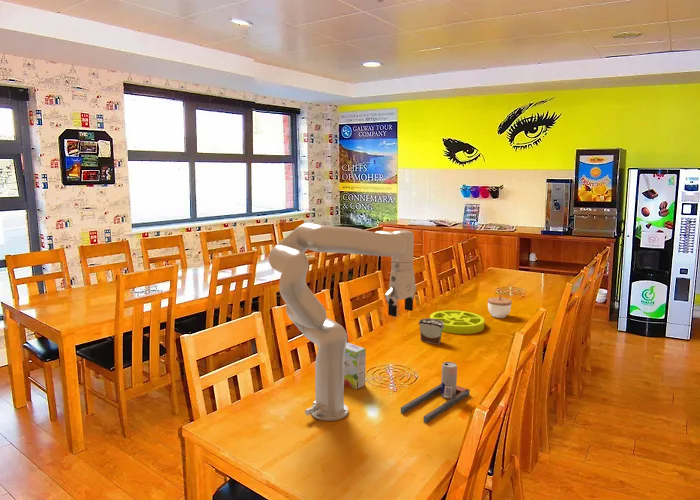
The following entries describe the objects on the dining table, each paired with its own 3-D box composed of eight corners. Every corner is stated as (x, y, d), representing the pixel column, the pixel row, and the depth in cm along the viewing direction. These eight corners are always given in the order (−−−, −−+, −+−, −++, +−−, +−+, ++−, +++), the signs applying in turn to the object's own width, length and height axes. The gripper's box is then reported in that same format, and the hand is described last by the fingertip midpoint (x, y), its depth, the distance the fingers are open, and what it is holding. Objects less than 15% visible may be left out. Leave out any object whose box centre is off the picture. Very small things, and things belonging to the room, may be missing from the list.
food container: (447, 341, 243) (448, 321, 241) (442, 345, 238) (443, 324, 236) (423, 336, 249) (424, 316, 248) (418, 340, 244) (418, 319, 243)
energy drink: (445, 391, 190) (446, 360, 188) (458, 395, 187) (460, 364, 185) (438, 396, 186) (439, 364, 184) (451, 400, 183) (452, 368, 181)
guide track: (426, 423, 167) (426, 417, 166) (400, 412, 173) (400, 407, 173) (469, 394, 187) (469, 389, 187) (444, 386, 194) (444, 381, 194)
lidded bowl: (488, 318, 279) (489, 299, 277) (485, 312, 291) (487, 293, 289) (512, 320, 277) (513, 300, 275) (509, 313, 289) (510, 294, 287)
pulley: (418, 324, 269) (418, 315, 268) (450, 314, 287) (451, 305, 286) (463, 338, 248) (463, 328, 248) (494, 326, 267) (495, 317, 266)
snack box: (316, 374, 204) (316, 337, 202) (326, 370, 208) (327, 334, 206) (356, 390, 190) (356, 351, 187) (366, 385, 194) (367, 347, 192)
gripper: (396, 271, 172) (394, 320, 175) (424, 263, 184) (423, 310, 187) (378, 267, 177) (377, 315, 179) (407, 261, 189) (406, 306, 192)
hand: (400, 312), depth 183 cm, fingers open, 9 cm apart
